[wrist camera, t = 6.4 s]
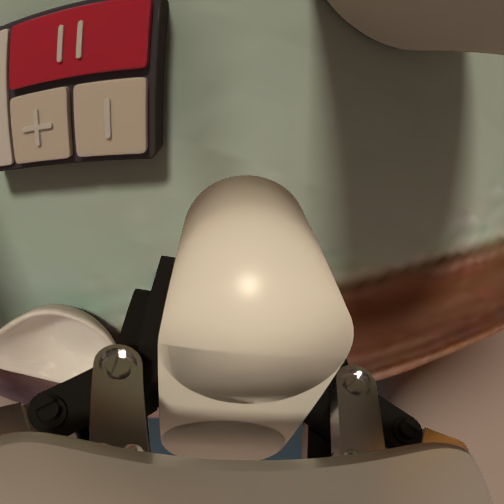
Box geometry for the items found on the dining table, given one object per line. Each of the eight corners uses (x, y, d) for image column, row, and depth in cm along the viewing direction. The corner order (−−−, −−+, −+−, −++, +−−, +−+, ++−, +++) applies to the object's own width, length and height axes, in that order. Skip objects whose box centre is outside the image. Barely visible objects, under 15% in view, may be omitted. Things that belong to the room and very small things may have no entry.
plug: (192, 165, 9) (160, 259, 5) (320, 188, 10) (385, 288, 5) (171, 383, 15) (163, 473, 10) (249, 391, 15) (256, 479, 11)
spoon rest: (119, 292, 27) (96, 350, 21) (135, 369, 33) (123, 421, 27) (-45, 266, 25) (-76, 303, 19) (-14, 336, 31) (-35, 373, 25)
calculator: (153, 162, 18) (-27, 178, 16) (165, 146, 21) (2, 160, 20) (160, -15, 12) (-35, 39, 10) (171, 1, 16) (-3, 38, 14)
